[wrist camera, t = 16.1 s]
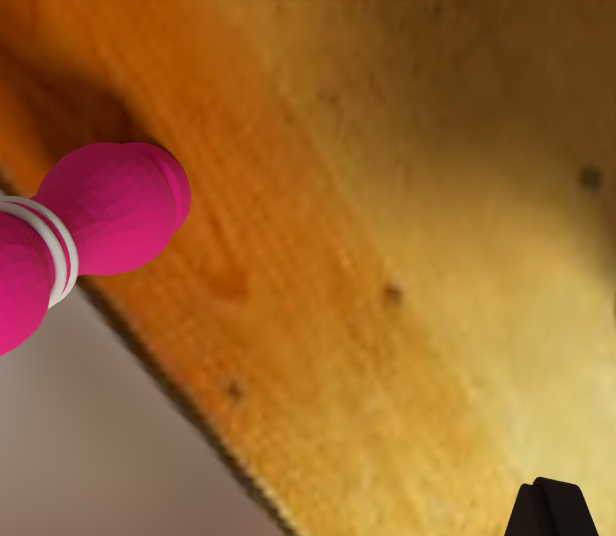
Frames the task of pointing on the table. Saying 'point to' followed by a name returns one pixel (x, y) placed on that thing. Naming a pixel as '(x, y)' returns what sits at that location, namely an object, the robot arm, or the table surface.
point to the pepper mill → (85, 227)
